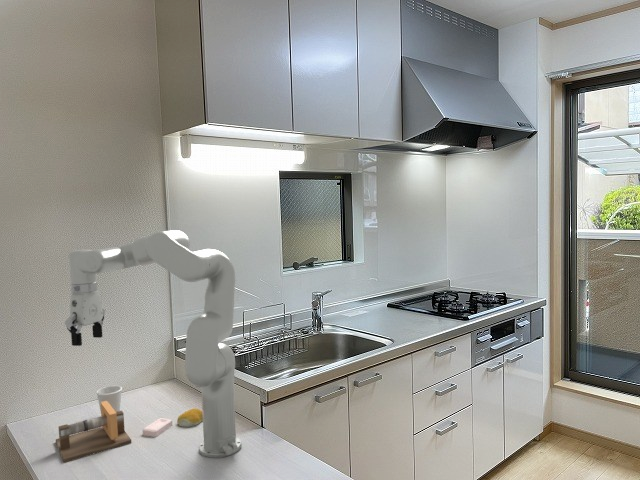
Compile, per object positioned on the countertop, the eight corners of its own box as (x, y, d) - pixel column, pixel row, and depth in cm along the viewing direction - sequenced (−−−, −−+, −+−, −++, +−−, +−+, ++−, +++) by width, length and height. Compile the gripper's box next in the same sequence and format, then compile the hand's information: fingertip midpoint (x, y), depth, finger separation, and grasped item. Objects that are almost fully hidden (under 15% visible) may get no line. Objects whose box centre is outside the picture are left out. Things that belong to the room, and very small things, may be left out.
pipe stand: (131, 442, 155) (130, 419, 154) (63, 462, 144) (62, 437, 143) (118, 425, 168) (117, 403, 167) (55, 442, 157) (54, 418, 156)
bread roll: (208, 417, 172) (208, 406, 172) (193, 428, 164) (193, 417, 164) (188, 415, 175) (187, 404, 175) (172, 426, 167) (172, 414, 166)
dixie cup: (114, 423, 170) (112, 394, 169) (92, 421, 172) (90, 393, 171) (128, 413, 178) (126, 385, 177) (107, 411, 180) (105, 384, 179)
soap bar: (142, 436, 160) (141, 428, 160) (159, 424, 169) (159, 417, 169) (156, 438, 158) (155, 430, 158) (173, 426, 167) (172, 418, 167)
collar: (118, 438, 154) (116, 413, 153) (111, 440, 153) (109, 414, 152) (108, 424, 164) (106, 400, 164) (102, 425, 163) (100, 402, 163)
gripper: (75, 293, 149) (78, 349, 150) (111, 284, 165) (114, 334, 166) (53, 293, 150) (57, 348, 151) (92, 284, 167) (95, 334, 168)
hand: (87, 341), depth 159 cm, fingers open, 9 cm apart
